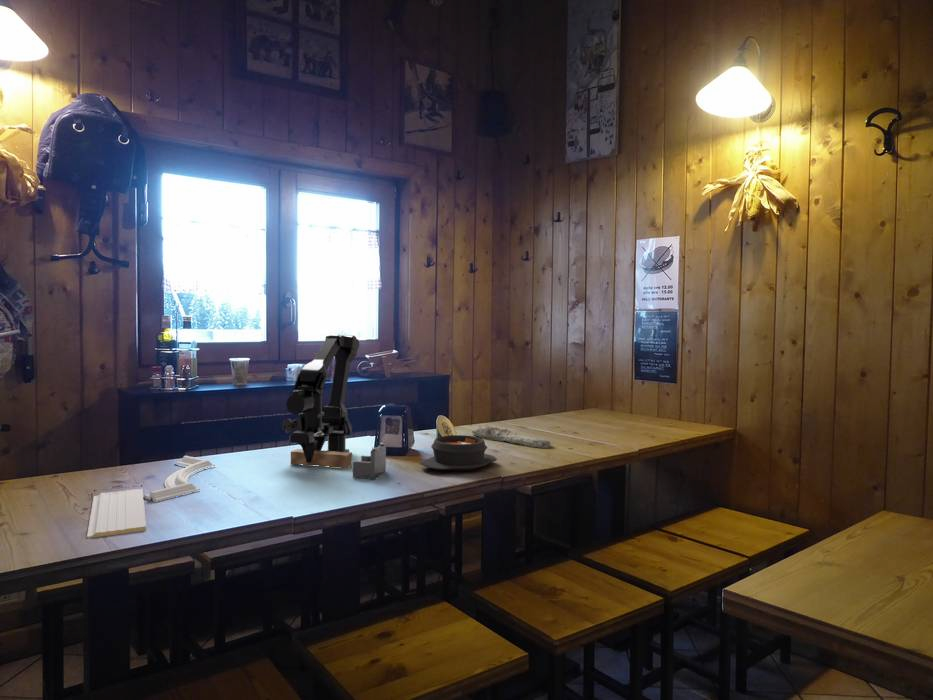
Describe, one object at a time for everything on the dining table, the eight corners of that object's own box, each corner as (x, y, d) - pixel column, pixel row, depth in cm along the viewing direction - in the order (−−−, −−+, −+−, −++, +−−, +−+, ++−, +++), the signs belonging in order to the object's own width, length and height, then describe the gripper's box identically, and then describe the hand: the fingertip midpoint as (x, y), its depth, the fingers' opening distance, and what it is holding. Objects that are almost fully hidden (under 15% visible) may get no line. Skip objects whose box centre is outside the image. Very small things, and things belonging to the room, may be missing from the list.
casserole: (471, 456, 205) (472, 430, 204) (510, 467, 190) (510, 440, 190) (407, 466, 189) (407, 439, 189) (443, 479, 174) (444, 449, 174)
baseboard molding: (78, 542, 124) (146, 533, 130) (78, 528, 124) (146, 519, 130) (86, 500, 151) (142, 494, 157) (86, 488, 151) (142, 483, 157)
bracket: (363, 470, 183) (363, 440, 183) (386, 471, 182) (386, 442, 182) (351, 478, 174) (351, 447, 173) (374, 480, 172) (375, 449, 172)
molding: (177, 464, 189) (176, 455, 189) (219, 462, 192) (219, 453, 192) (138, 505, 148) (138, 493, 148) (193, 502, 151) (193, 490, 151)
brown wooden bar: (290, 464, 189) (290, 451, 189) (296, 461, 193) (297, 448, 192) (346, 468, 185) (346, 455, 185) (351, 465, 189) (351, 452, 189)
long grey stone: (540, 454, 216) (556, 452, 223) (541, 439, 216) (557, 437, 223) (464, 435, 239) (481, 433, 246) (465, 421, 239) (482, 420, 246)
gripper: (300, 404, 199) (300, 453, 200) (272, 413, 181) (272, 466, 182) (333, 405, 197) (333, 454, 198) (308, 414, 179) (308, 468, 180)
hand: (311, 460), depth 189 cm, fingers closed on brown wooden bar, 4 cm apart
